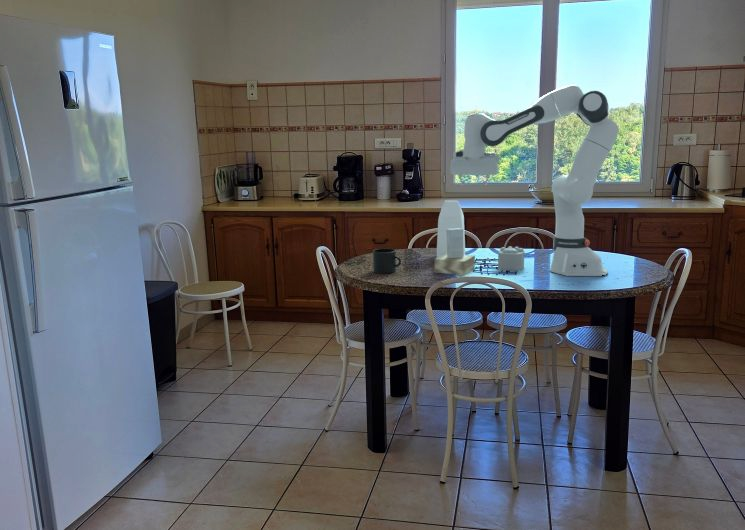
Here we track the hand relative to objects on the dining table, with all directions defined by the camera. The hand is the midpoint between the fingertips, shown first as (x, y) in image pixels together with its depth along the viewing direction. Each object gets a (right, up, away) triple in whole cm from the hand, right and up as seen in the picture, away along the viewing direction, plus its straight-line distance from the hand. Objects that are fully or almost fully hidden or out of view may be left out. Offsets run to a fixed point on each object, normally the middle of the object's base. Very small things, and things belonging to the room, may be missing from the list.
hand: (474, 185), depth 279 cm
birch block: (-9, -37, -7) cm, 38 cm away
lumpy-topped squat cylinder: (+15, -35, -2) cm, 39 cm away
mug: (-37, -37, -7) cm, 53 cm away
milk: (-7, -30, +23) cm, 39 cm away
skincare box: (-9, -31, -8) cm, 33 cm away
